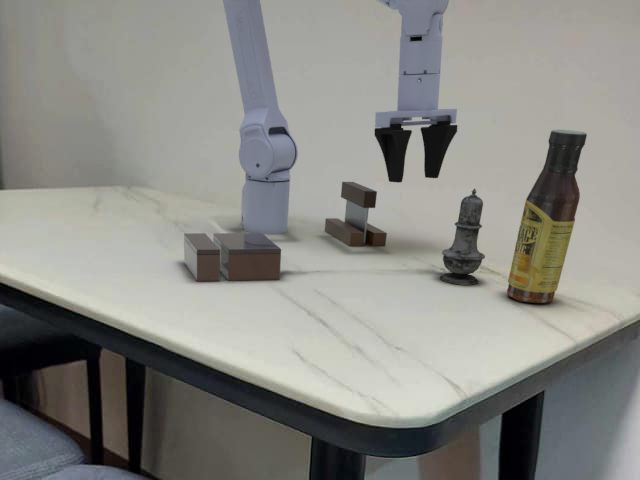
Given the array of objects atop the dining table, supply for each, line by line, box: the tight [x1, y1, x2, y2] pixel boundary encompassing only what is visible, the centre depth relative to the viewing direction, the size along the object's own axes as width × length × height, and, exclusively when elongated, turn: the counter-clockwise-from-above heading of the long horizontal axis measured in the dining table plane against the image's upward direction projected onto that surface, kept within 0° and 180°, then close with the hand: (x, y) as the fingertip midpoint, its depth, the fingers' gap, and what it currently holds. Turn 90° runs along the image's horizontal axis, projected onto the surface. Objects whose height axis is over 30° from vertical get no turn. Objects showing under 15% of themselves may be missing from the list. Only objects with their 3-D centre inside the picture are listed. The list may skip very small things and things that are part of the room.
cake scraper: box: [340, 181, 378, 244], centre depth 117 cm, size 10×2×8 cm, turn 16°
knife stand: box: [324, 217, 388, 248], centre depth 118 cm, size 12×6×3 cm, turn 16°
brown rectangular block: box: [183, 232, 221, 282], centre depth 98 cm, size 10×3×4 cm, turn 16°
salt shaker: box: [439, 188, 486, 286], centre depth 99 cm, size 6×6×12 cm
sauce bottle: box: [506, 128, 588, 304], centre depth 90 cm, size 6×6×20 cm
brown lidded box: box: [212, 232, 282, 282], centre depth 99 cm, size 10×7×4 cm
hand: (413, 179), depth 108 cm, fingers open, 7 cm apart
